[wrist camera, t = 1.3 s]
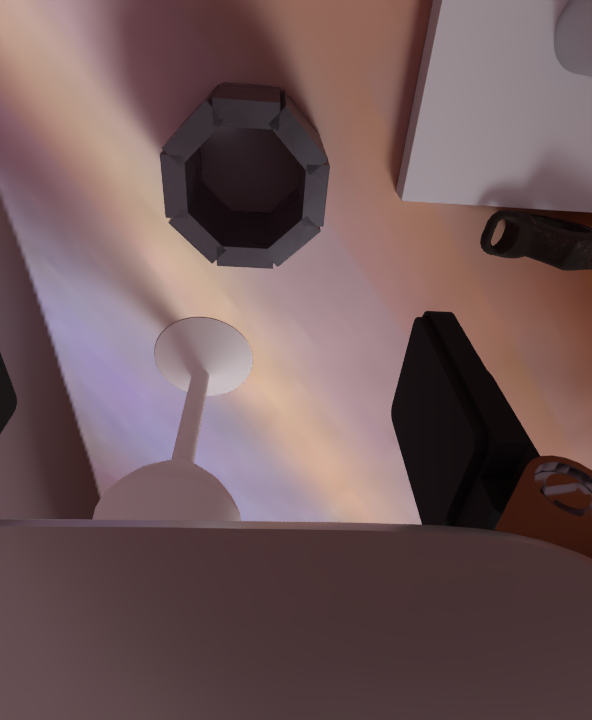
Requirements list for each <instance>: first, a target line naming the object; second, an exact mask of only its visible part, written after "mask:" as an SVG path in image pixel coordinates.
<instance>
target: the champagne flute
mask: <svg viewBox="0 0 592 720" xmlns="http://www.w3.org/2000/svg"><path fill="white" fill-rule="evenodd" d="M155 360H156V364H157V366H158V368H159V370H160V372H161V373H162V375H163V376H164V377H165V378H166V379H167V380H168V381H169V382H170V383H171V384H172V385H174V386H176V387H177V388H179V389H181V390H183V391H185V392H187V396H186V400H185V404H184V409H183V413H182V417H181V421H180V426H179V430H178V434H177V438H176V443H175V447H174V451H173V455H172V460H167V461H162V462H158V463H153V464H149V465H146V466H143V467H141V468H139V469H137V470H135V471H134V472H132V473H130V474H128V475H126V476H125V477H123V478H122V479H120V480H119V481H118V482H117V483H115V484H114V485H113V486H112V487H111V488H110V489H108V490H107V491H106V492H105V493H104V495H103V497H102V498H101V500H100V501H99V503H98V504H97V506H96V508H95V512H94V516H93V520H180V521H241V518H240V512H239V510H238V508H237V506H236V504H235V502H234V500H233V498H232V496H231V494H230V493H229V492H228V491H227V489H226V488H225V487H224V486H223V485H222V483H221V482H220V481H219V480H218V479H217V478H216V477H215V476H213V475H212V474H211V473H209V472H207V471H206V470H204V469H203V468H201V467H199V466H198V465H196V464H194V459H195V453H196V448H197V442H198V437H199V431H200V426H201V421H202V415H203V410H204V404H205V399H206V396H215V395H220V394H224V393H227V392H230V391H232V390H234V389H236V388H237V387H239V386H240V385H241V384H242V383H243V382H244V381H245V380H246V379H247V377H248V376H249V374H250V371H251V369H252V363H253V358H252V352H251V349H250V346H249V344H248V343H247V341H246V339H245V338H244V337H243V336H242V335H241V334H240V333H239V332H238V331H237V330H236V329H234V328H233V327H231V326H230V325H228V324H226V323H224V322H221V321H218V320H215V319H210V318H189V319H184V320H181V321H178V322H176V323H174V324H172V325H171V326H169V327H168V328H166V329H165V330H164V332H163V333H162V334H161V335H160V337H159V338H158V340H157V343H156V346H155Z"/></svg>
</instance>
